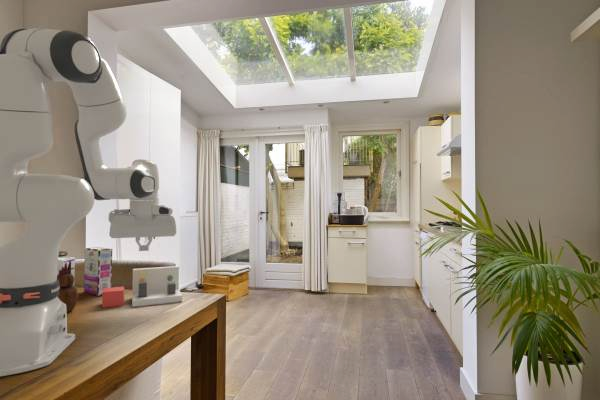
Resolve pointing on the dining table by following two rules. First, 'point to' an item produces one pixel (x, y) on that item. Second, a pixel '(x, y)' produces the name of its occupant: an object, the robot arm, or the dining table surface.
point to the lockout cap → (113, 297)
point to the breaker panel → (156, 298)
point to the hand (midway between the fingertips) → (143, 250)
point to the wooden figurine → (67, 288)
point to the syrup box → (66, 260)
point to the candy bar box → (97, 270)
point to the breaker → (142, 289)
